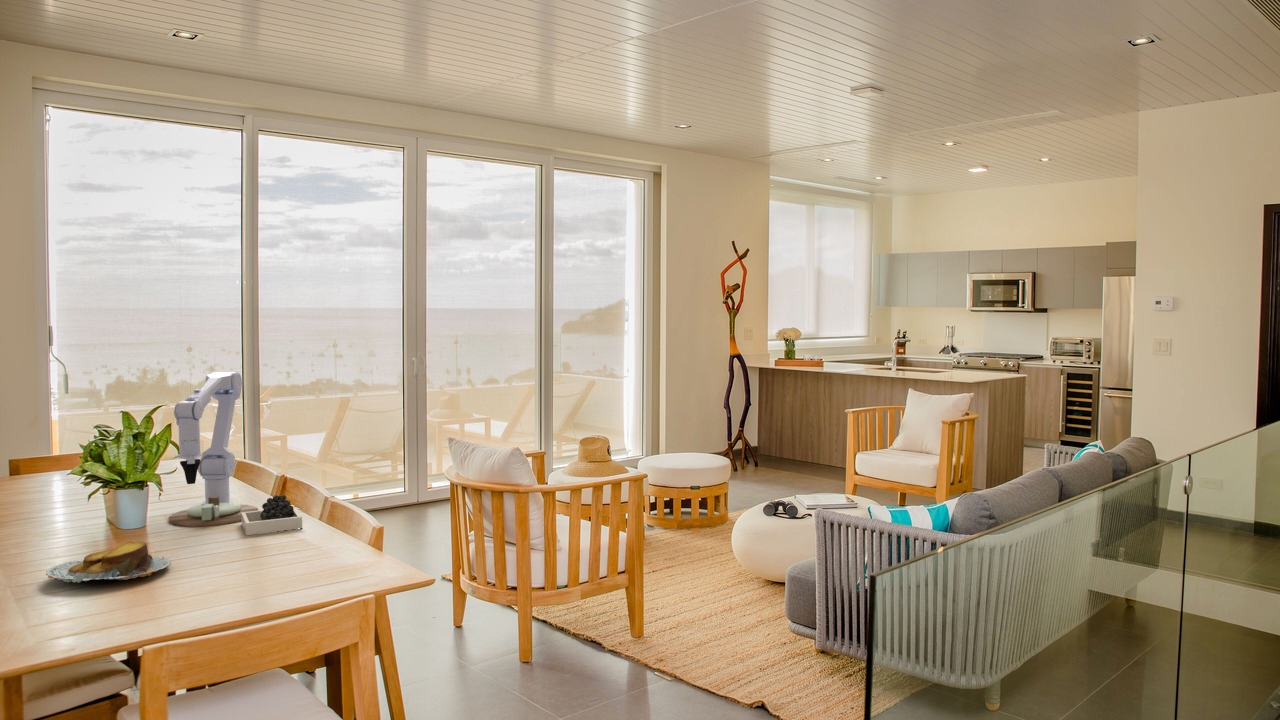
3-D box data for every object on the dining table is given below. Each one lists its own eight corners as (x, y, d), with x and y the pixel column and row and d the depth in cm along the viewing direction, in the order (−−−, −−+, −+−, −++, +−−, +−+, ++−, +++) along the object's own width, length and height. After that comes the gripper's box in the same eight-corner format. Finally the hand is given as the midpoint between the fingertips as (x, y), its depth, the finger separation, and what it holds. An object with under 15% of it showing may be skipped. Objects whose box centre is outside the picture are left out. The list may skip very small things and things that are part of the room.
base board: (167, 513, 276) (167, 494, 276) (254, 504, 288) (253, 486, 288) (169, 530, 254) (168, 510, 254) (262, 520, 267) (261, 500, 266)
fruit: (269, 501, 251) (290, 488, 266) (242, 510, 252) (265, 497, 267) (280, 528, 252) (301, 515, 267) (254, 538, 252) (276, 523, 267)
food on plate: (42, 573, 215) (41, 546, 214) (159, 555, 230) (158, 530, 230) (52, 600, 194) (51, 570, 194) (180, 578, 210) (179, 551, 210)
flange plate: (192, 507, 276) (192, 495, 276) (244, 504, 281) (244, 492, 280) (178, 522, 258) (177, 509, 258) (233, 518, 262) (233, 505, 262)
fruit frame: (241, 524, 262) (241, 512, 262) (295, 518, 269) (294, 506, 269) (246, 535, 249) (245, 523, 249) (302, 528, 256) (301, 516, 256)
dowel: (212, 522, 263) (212, 505, 263) (219, 522, 264) (218, 505, 264) (213, 524, 262) (212, 507, 262) (219, 523, 263) (219, 506, 262)
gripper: (174, 437, 274) (175, 480, 275) (175, 444, 261) (176, 489, 262) (199, 436, 278) (200, 478, 278) (201, 442, 265) (203, 486, 266)
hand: (191, 483), depth 271 cm, fingers closed
